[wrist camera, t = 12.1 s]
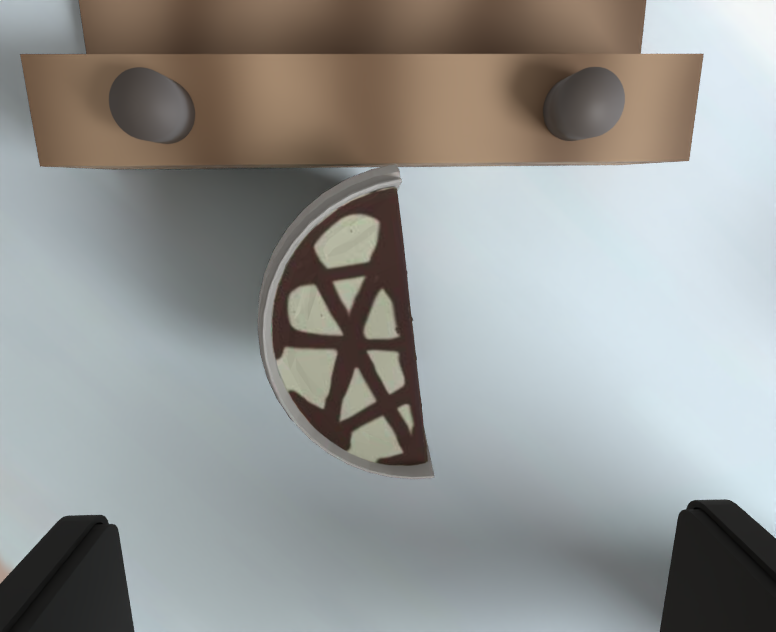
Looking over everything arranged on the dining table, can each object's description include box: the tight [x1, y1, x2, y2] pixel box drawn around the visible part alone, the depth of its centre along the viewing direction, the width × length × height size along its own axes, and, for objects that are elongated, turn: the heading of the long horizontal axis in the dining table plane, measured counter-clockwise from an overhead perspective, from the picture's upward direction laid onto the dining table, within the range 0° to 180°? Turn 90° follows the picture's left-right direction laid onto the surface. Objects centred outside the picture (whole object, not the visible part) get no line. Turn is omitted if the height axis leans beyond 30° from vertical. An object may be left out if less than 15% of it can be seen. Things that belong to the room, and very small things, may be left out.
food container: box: [258, 164, 434, 479], centre depth 23 cm, size 12×6×10 cm, turn 7°
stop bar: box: [20, 0, 703, 169], centre depth 21 cm, size 26×11×8 cm, turn 90°
